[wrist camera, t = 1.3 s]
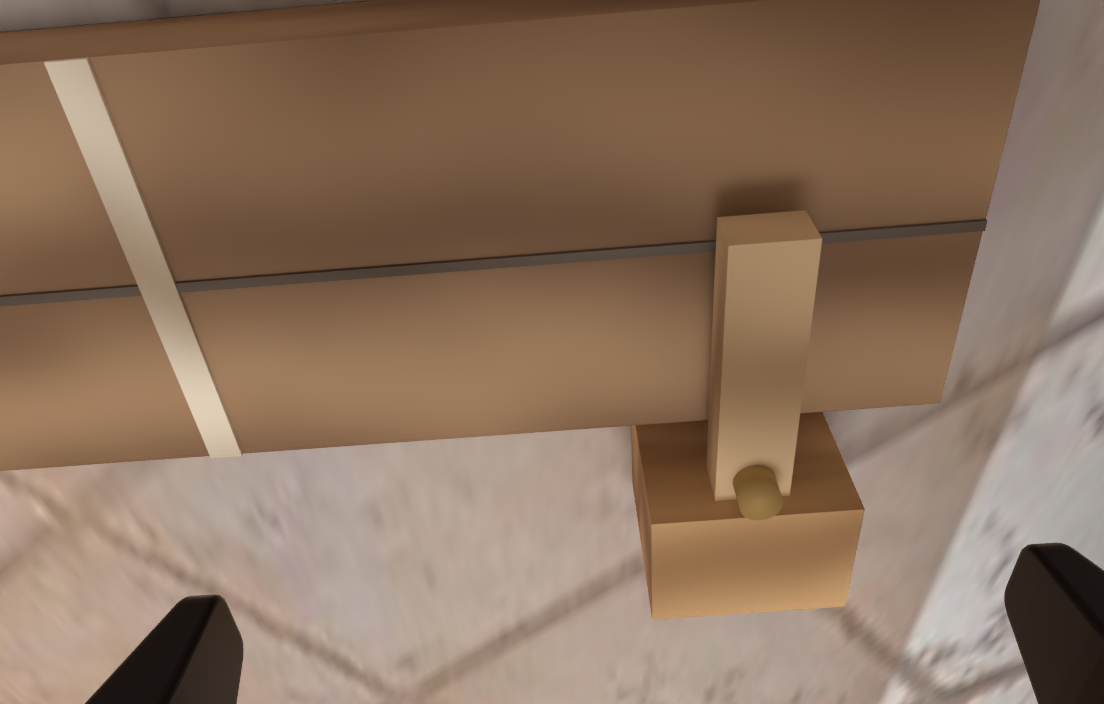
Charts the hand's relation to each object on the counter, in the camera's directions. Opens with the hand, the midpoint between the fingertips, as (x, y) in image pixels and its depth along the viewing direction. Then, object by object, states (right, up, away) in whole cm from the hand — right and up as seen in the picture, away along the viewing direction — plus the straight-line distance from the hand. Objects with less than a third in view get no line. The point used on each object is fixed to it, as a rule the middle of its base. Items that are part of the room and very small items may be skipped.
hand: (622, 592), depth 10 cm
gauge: (+4, +3, +13) cm, 14 cm away
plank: (-5, +6, +11) cm, 13 cm away
